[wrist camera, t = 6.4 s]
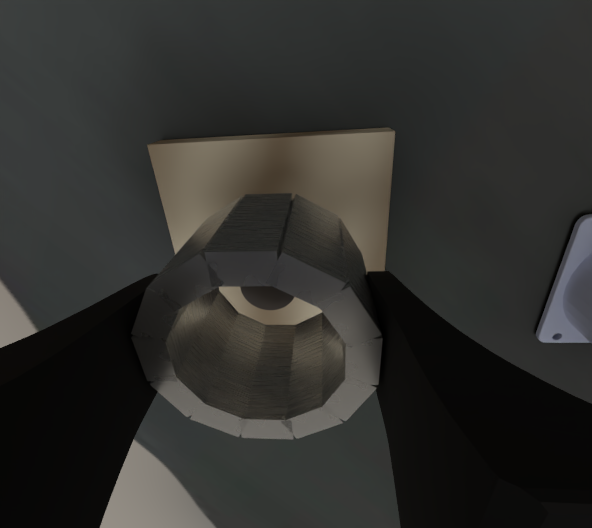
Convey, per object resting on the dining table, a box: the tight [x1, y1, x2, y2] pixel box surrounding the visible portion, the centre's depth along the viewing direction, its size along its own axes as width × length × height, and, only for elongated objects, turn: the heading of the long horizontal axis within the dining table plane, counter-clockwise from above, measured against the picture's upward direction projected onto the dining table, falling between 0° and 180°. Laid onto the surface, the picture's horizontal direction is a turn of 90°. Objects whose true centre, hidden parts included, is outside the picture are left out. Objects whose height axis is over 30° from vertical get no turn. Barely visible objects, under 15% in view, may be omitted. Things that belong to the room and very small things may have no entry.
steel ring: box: [131, 193, 383, 439], centre depth 10 cm, size 6×6×4 cm
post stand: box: [147, 127, 395, 325], centre depth 16 cm, size 11×11×5 cm
